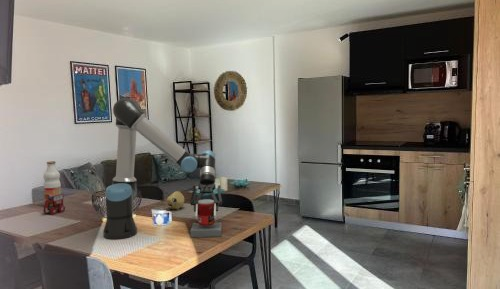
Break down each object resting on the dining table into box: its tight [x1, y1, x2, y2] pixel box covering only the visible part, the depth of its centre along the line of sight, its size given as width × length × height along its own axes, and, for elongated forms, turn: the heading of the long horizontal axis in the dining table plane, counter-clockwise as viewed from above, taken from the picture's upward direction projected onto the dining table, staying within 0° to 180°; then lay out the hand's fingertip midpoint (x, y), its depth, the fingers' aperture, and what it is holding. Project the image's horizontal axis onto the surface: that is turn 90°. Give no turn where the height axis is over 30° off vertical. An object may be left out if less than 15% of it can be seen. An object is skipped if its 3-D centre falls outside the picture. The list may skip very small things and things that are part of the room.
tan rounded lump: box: [164, 190, 185, 211], centre depth 220 cm, size 10×12×11 cm
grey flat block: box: [190, 222, 223, 238], centre depth 175 cm, size 14×12×3 cm
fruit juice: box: [43, 161, 62, 203], centre depth 231 cm, size 9×9×28 cm
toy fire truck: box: [42, 193, 66, 215], centre depth 214 cm, size 7×12×10 cm, turn 155°
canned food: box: [197, 198, 216, 226], centre depth 175 cm, size 8×8×11 cm
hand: (205, 217), depth 171 cm, fingers closed on canned food, 8 cm apart
